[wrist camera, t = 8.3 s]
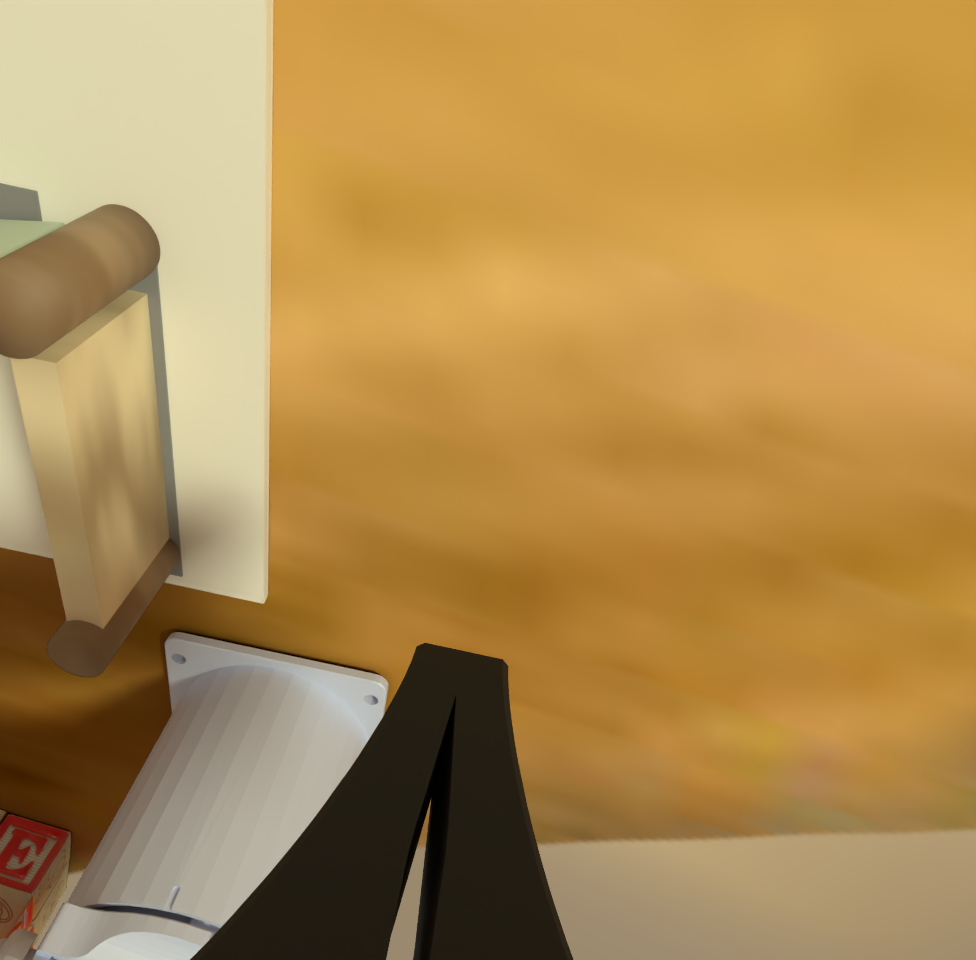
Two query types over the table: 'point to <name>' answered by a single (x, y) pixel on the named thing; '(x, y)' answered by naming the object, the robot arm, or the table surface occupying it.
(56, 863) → the stack of blocks
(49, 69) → the card
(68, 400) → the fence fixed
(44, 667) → the table surface
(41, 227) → the pale green bar
